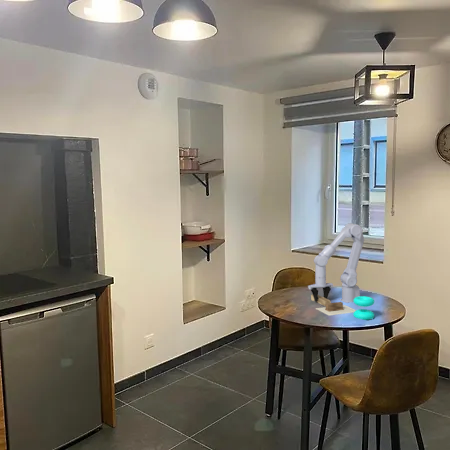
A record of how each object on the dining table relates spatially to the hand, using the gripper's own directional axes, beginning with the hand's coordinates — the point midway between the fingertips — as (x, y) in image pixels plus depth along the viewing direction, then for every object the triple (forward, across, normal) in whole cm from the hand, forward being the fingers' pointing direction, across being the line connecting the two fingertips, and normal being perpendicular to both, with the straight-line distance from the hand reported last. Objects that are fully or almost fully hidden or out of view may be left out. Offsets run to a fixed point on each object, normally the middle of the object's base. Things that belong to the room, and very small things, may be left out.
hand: (320, 300), depth 260 cm
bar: (+2, 0, 0) cm, 2 cm away
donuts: (+2, -6, +32) cm, 33 cm away
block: (+1, +1, +16) cm, 16 cm away
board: (+1, 0, +17) cm, 17 cm away
